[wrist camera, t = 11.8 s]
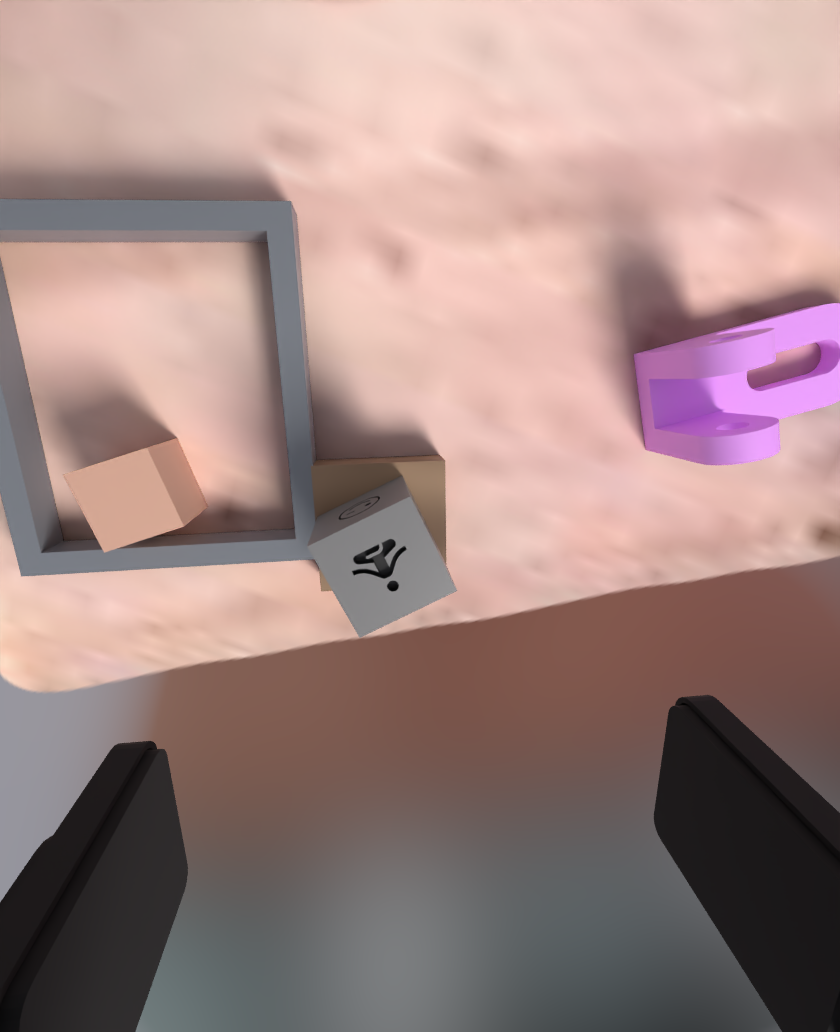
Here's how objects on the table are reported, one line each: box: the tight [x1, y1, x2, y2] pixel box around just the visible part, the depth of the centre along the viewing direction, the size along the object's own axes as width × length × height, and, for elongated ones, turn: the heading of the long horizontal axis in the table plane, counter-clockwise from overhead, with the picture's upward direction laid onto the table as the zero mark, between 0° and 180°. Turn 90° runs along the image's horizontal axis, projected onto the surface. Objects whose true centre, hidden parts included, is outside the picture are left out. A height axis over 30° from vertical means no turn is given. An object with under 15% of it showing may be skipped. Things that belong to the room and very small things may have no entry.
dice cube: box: [307, 476, 457, 637], centre depth 25 cm, size 5×5×5 cm
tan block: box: [311, 455, 446, 591], centre depth 28 cm, size 7×7×2 cm
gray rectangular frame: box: [0, 199, 316, 576], centre depth 25 cm, size 17×15×2 cm
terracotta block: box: [63, 438, 208, 553], centre depth 25 cm, size 4×4×4 cm
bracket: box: [634, 303, 840, 465], centre depth 26 cm, size 13×6×7 cm, turn 104°
